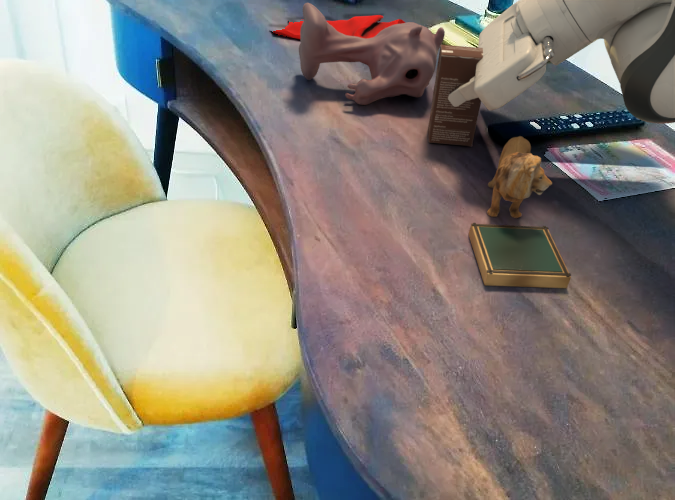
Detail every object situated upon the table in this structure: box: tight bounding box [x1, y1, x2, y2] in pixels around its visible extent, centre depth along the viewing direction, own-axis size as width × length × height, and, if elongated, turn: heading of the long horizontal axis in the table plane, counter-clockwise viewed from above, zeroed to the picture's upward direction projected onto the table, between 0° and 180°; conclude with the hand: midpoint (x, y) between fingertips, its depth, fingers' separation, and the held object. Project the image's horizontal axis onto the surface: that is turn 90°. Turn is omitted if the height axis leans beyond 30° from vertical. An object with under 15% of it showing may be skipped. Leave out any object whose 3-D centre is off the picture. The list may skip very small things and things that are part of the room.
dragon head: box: [298, 2, 446, 106], centre depth 94 cm, size 14×13×20 cm
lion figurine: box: [486, 135, 553, 219], centre depth 73 cm, size 15×5×9 cm, turn 174°
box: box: [427, 44, 483, 147], centre depth 84 cm, size 6×4×12 cm
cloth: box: [272, 14, 407, 40], centre depth 115 cm, size 26×14×2 cm, turn 100°
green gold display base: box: [468, 222, 572, 289], centre depth 67 cm, size 8×8×2 cm
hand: (452, 91), depth 83 cm, fingers closed on box, 4 cm apart
